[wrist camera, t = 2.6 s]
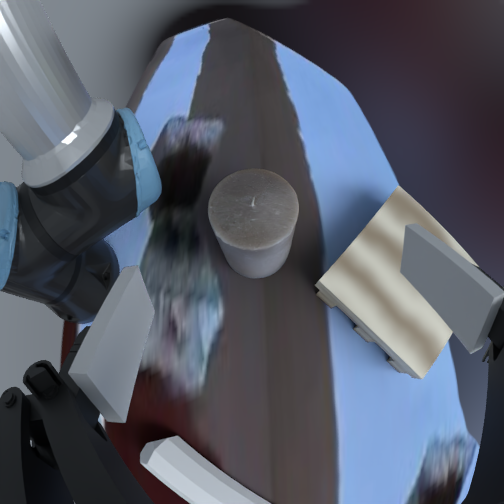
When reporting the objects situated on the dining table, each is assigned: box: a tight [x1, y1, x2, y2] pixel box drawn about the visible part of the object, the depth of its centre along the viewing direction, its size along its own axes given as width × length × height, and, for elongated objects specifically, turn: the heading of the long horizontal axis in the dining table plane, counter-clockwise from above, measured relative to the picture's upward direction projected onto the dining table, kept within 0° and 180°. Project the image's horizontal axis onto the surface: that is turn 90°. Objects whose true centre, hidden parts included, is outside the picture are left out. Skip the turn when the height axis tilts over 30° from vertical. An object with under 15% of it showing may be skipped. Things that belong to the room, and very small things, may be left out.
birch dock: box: [315, 185, 479, 379], centre depth 37 cm, size 20×20×6 cm
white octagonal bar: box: [140, 436, 271, 504], centre depth 29 cm, size 7×7×24 cm
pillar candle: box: [208, 169, 299, 278], centre depth 35 cm, size 10×10×15 cm
